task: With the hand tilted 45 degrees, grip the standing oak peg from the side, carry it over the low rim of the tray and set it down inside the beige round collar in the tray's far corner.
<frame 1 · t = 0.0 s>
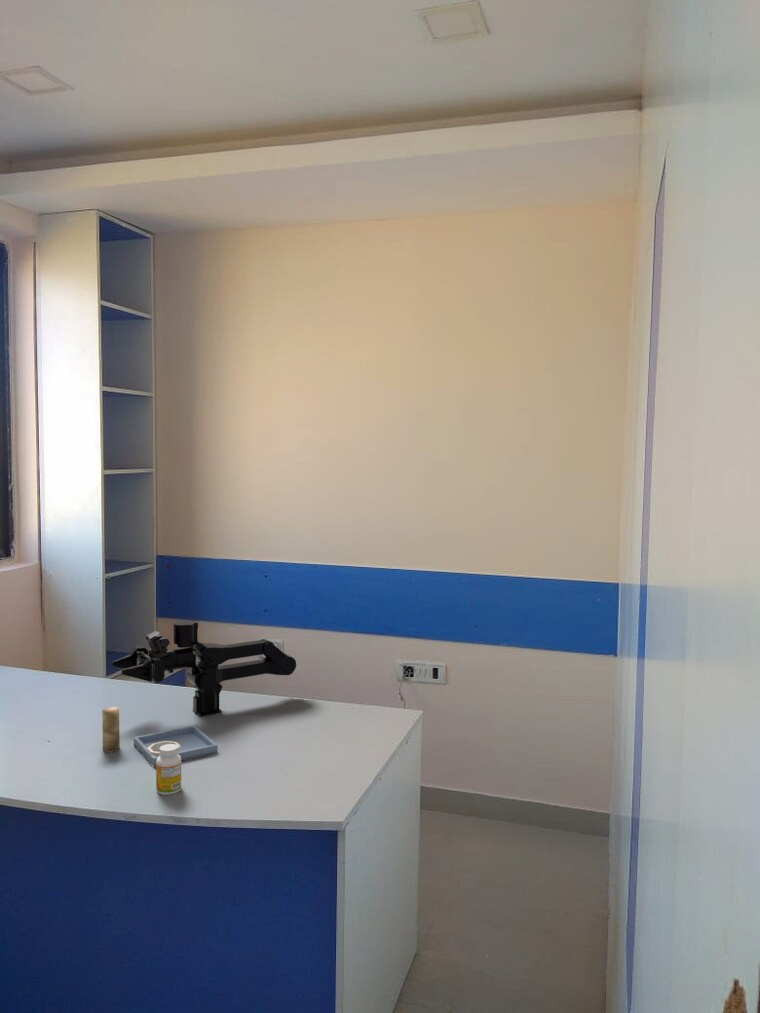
hand: (116, 668, 203), 17 cm above the table, tool horizontal, fingers open, 9 cm apart
peg: (111, 748, 191), on the table
supplement bottle: (169, 790, 168), on the table
tray: (175, 748, 191), on the table
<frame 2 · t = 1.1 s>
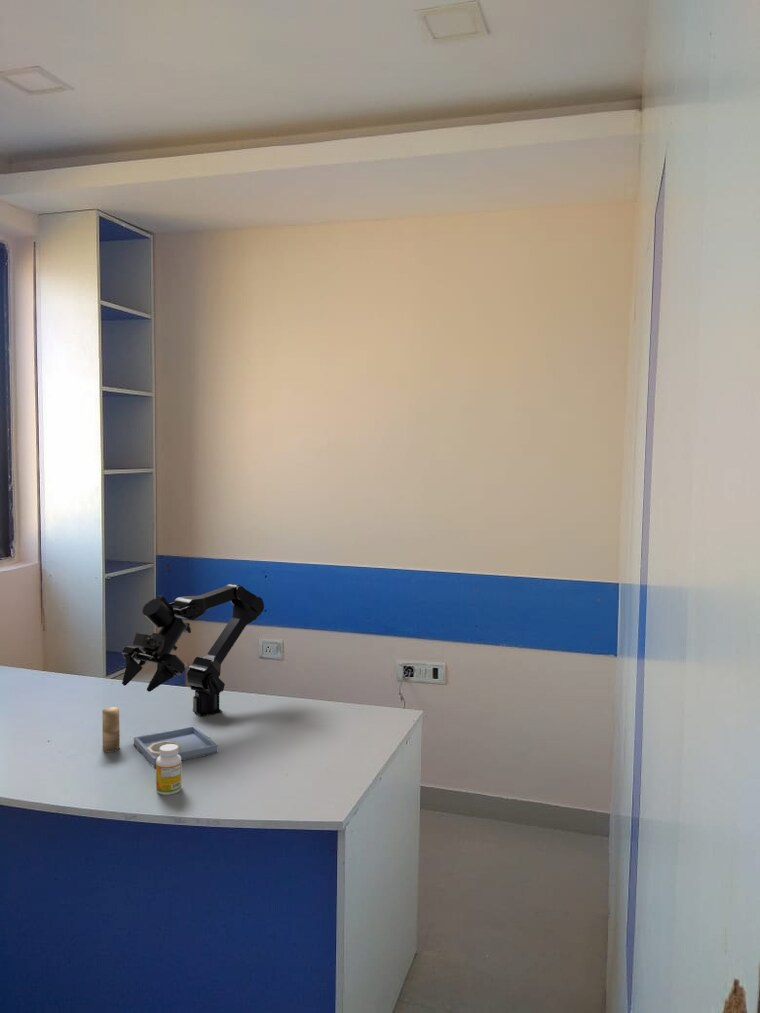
hand: (135, 687, 196), 14 cm above the table, tool tilted 45°, fingers open, 9 cm apart
nothing on the table moved.
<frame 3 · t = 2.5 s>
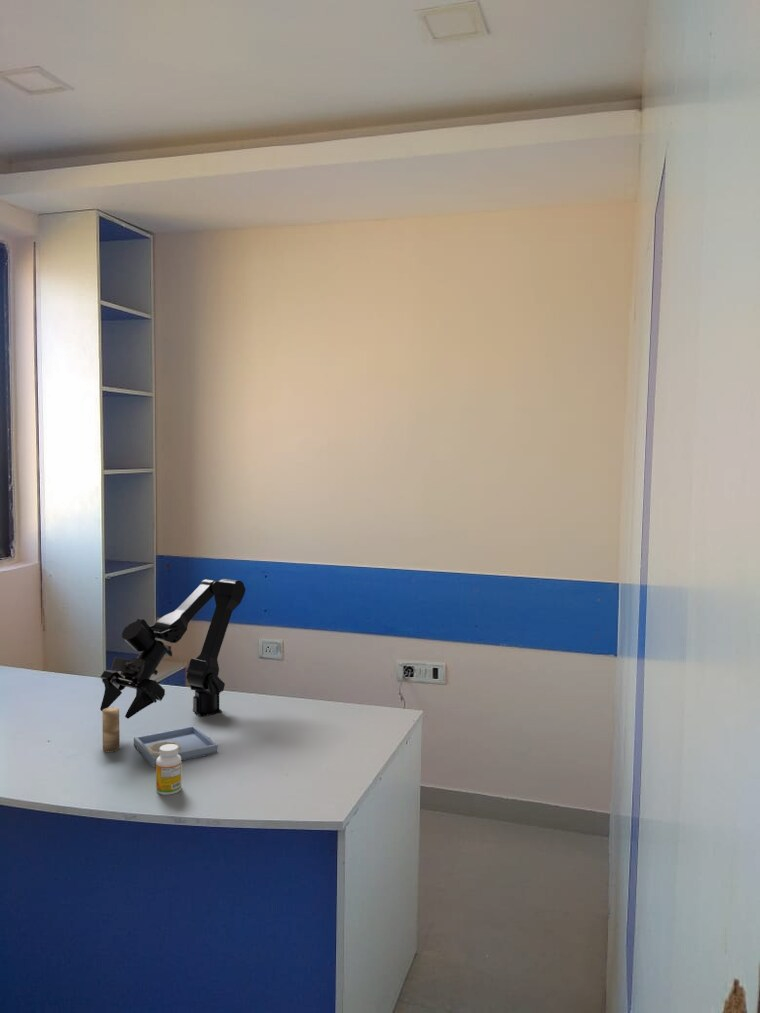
hand: (113, 714, 191), 9 cm above the table, tool tilted 45°, fingers open, 9 cm apart
nothing on the table moved.
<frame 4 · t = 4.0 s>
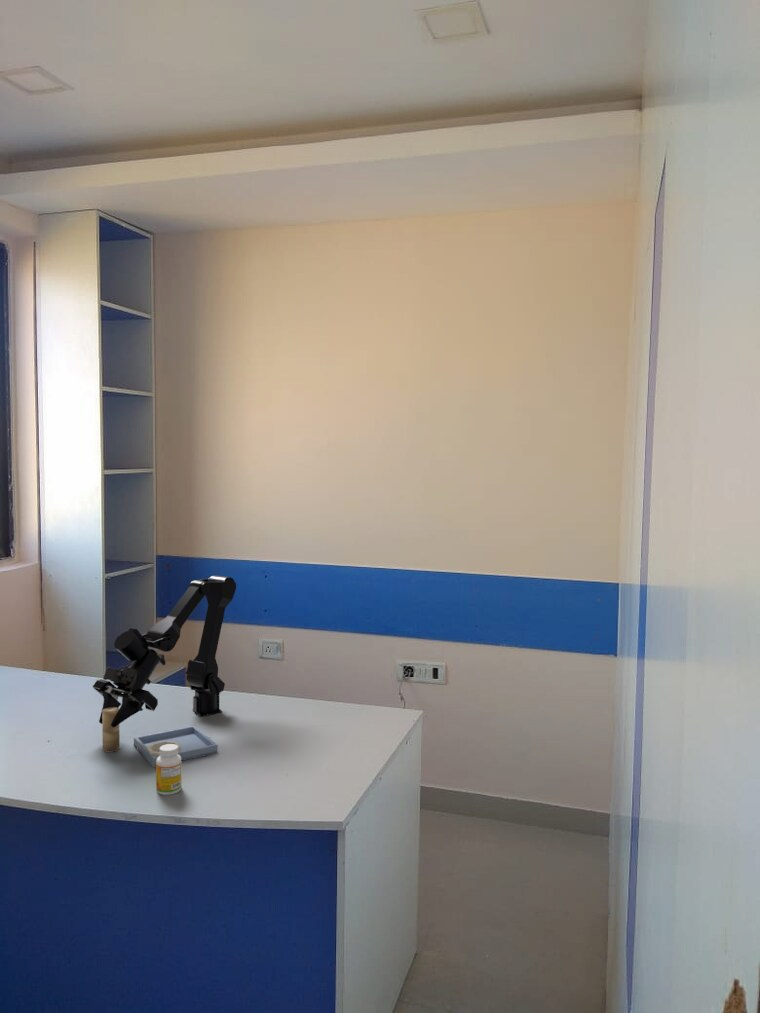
hand: (106, 724, 189), 7 cm above the table, tool tilted 45°, fingers closed on peg, 4 cm apart
peg: (111, 748, 191), on the table, touching gripper
everything else where it was.
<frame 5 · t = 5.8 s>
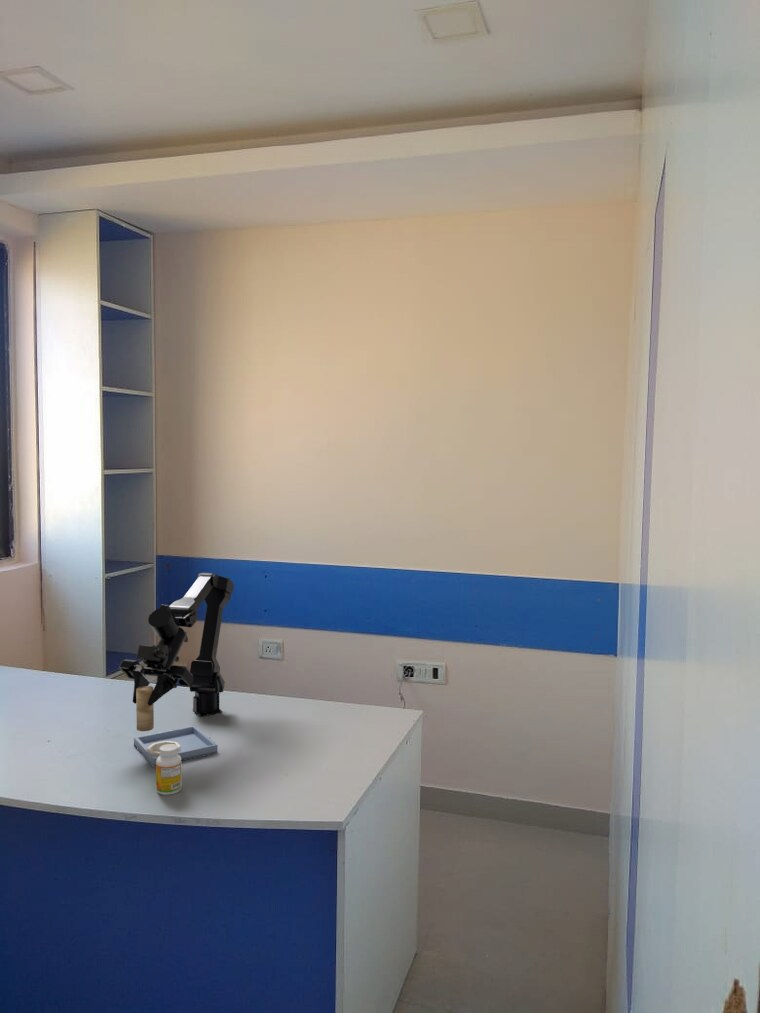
hand: (141, 703, 185), 13 cm above the table, tool tilted 45°, fingers closed on peg, 4 cm apart
peg: (145, 728, 186), point 7 cm above the table, touching gripper
everything else where it was.
when the fingers open (8 cm above the table, at t = 7.7 s): peg drops 1 cm, resting on tray.
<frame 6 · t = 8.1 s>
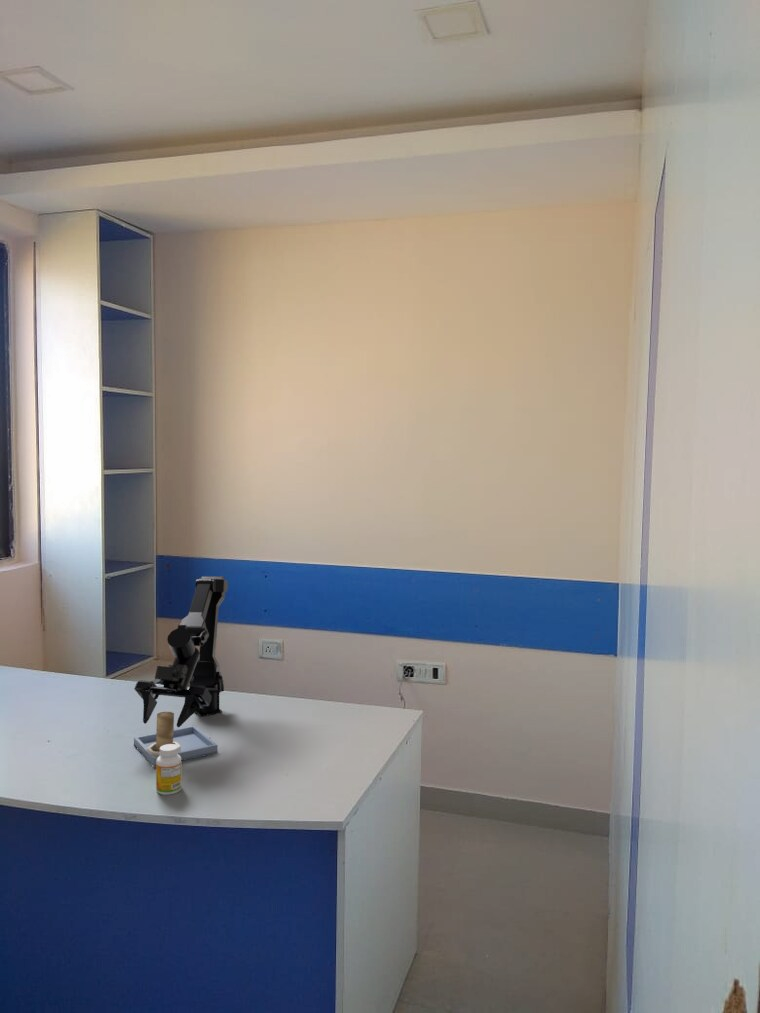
hand: (160, 724, 184), 9 cm above the table, tool tilted 45°, fingers open, 9 cm apart
peg: (164, 754, 186), point 1 cm above the table, touching tray
everything else where it was.
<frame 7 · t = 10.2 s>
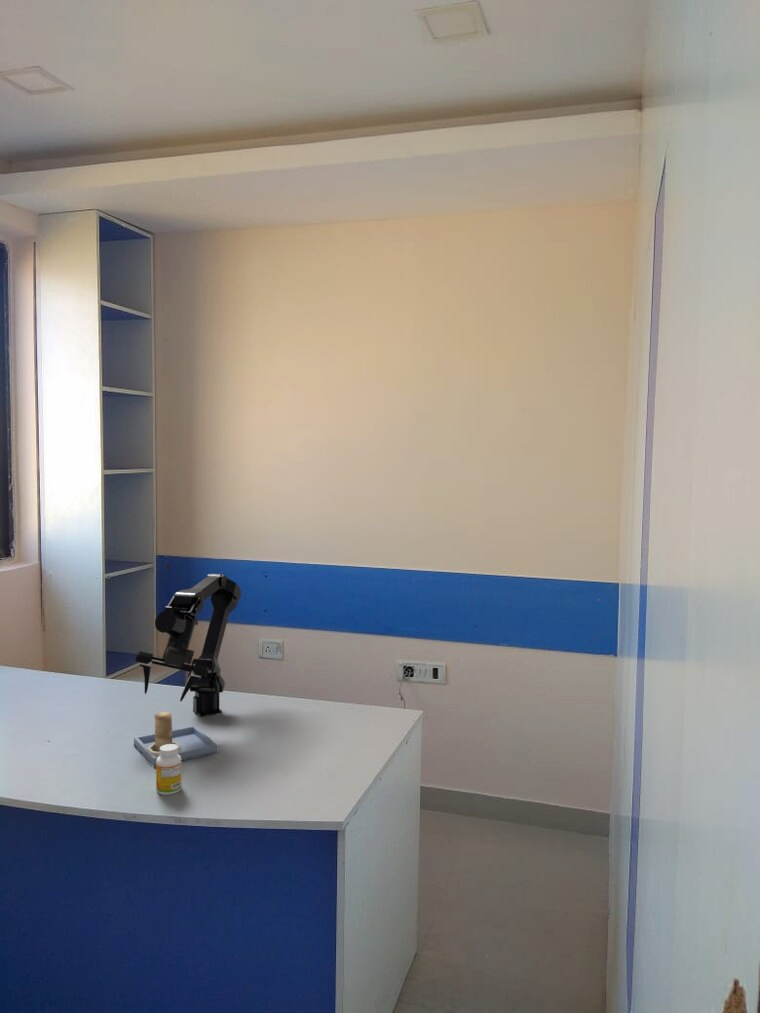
hand: (163, 697, 198), 11 cm above the table, tool tilted 25°, fingers open, 9 cm apart
nothing on the table moved.
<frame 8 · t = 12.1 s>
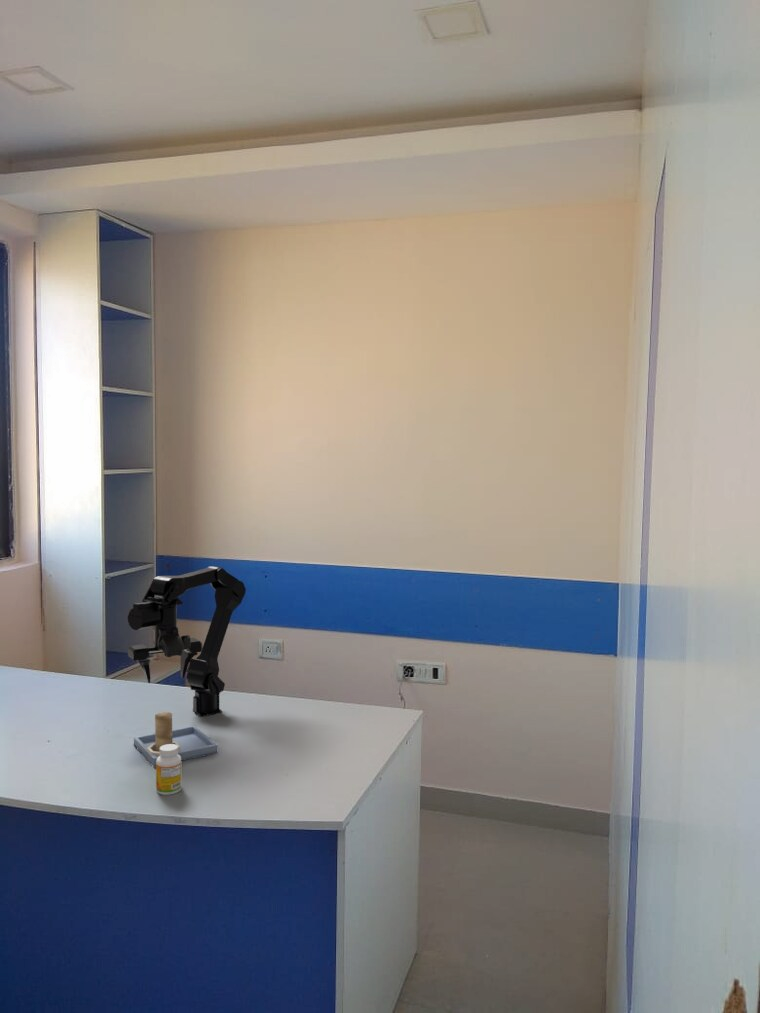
hand: (165, 680, 205), 13 cm above the table, tool pointing down, fingers open, 9 cm apart
nothing on the table moved.
at the end: peg 0.0 cm from the target spot on the tray, point 0.5 cm above the tray's base; peg tilted 1°; the gripper is holding nothing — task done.
